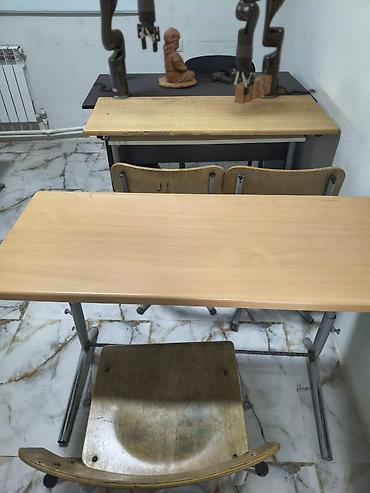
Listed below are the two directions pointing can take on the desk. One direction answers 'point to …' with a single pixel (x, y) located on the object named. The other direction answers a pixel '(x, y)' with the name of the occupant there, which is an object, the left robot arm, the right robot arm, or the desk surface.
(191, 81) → the sculpture
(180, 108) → the desk surface
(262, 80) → the bar
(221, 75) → the abstract sculpture
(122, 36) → the left robot arm
